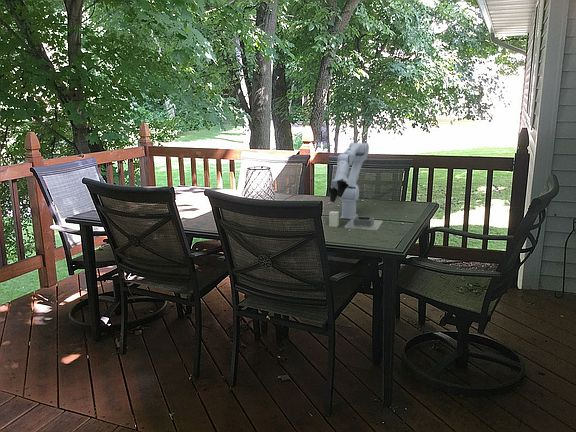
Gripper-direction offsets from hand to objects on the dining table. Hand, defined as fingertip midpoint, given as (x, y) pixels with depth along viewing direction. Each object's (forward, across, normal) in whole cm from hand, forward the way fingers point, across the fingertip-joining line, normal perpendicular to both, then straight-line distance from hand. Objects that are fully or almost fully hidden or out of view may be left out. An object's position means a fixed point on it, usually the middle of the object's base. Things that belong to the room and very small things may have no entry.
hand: (335, 199), depth 248 cm
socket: (+6, -3, +19) cm, 20 cm away
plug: (+10, -8, +6) cm, 14 cm away
